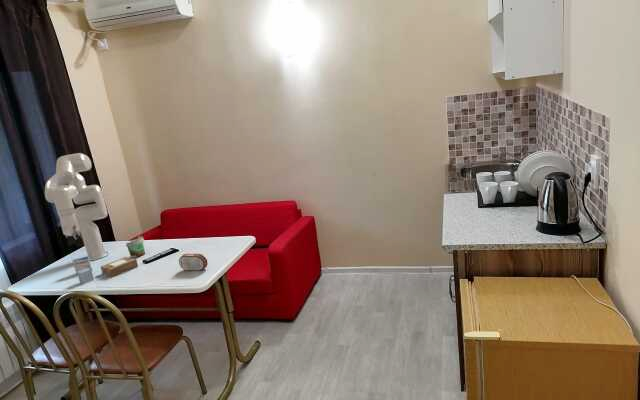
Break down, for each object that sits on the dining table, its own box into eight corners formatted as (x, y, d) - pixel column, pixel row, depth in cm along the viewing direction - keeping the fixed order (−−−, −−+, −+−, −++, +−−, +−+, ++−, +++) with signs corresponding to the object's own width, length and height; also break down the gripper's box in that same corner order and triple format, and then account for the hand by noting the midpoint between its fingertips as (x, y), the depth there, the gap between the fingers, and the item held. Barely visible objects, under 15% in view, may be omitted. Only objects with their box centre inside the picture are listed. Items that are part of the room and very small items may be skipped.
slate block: (80, 282, 236) (76, 271, 234) (89, 278, 239) (86, 268, 238) (84, 284, 232) (80, 273, 231) (94, 280, 236) (90, 269, 234)
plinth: (102, 273, 243) (100, 266, 242) (127, 263, 254) (125, 256, 253) (113, 277, 236) (110, 269, 235) (138, 266, 246) (136, 259, 245)
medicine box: (76, 275, 248) (72, 260, 245) (76, 273, 251) (72, 258, 249) (92, 271, 251) (88, 256, 249) (92, 268, 255) (88, 254, 253)
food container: (139, 259, 258) (135, 242, 256) (130, 259, 260) (125, 243, 257) (151, 251, 270) (147, 235, 268) (142, 251, 271) (138, 235, 269)
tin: (209, 268, 226) (205, 252, 224) (205, 271, 223) (202, 255, 221) (183, 269, 231) (180, 253, 229) (180, 271, 228) (176, 255, 226)
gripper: (51, 213, 230) (61, 246, 234) (65, 215, 219) (75, 249, 222) (67, 209, 235) (76, 241, 239) (81, 211, 224) (91, 244, 228)
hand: (76, 245), depth 231 cm, fingers open, 9 cm apart
